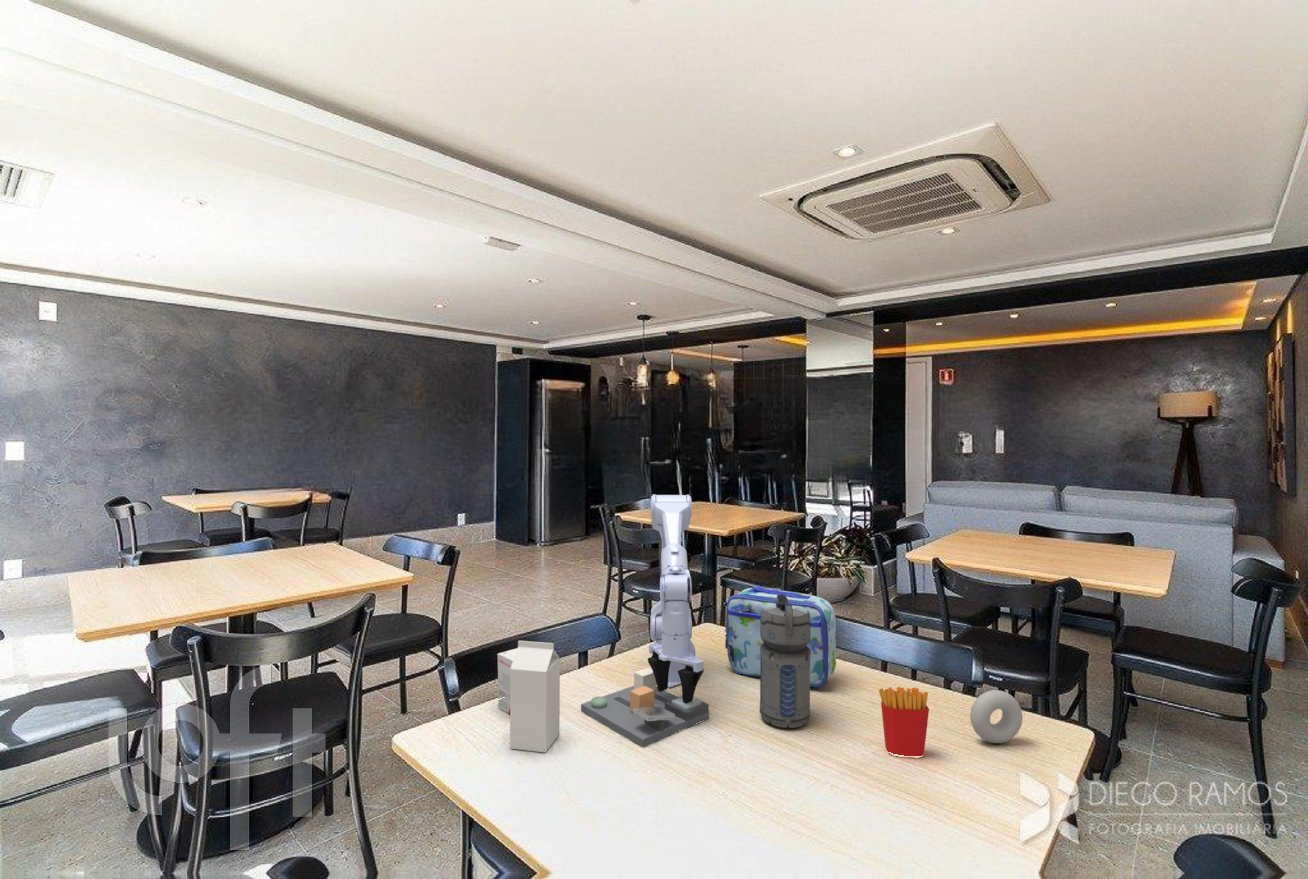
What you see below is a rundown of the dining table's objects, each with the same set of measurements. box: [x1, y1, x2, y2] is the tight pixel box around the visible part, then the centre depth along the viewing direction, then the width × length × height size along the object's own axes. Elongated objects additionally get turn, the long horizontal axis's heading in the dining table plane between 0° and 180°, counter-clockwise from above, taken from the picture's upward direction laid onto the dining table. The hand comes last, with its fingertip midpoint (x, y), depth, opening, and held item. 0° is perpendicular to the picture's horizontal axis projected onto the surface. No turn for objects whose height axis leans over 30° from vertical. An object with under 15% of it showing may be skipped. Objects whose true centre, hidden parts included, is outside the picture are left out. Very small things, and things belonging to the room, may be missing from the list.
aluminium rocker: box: [633, 706, 675, 721], centre depth 119 cm, size 7×4×1 cm, turn 132°
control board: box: [580, 685, 710, 748], centre depth 127 cm, size 18×20×3 cm
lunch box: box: [724, 585, 837, 688], centre depth 148 cm, size 26×11×21 cm, turn 58°
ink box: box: [497, 647, 518, 715], centre depth 129 cm, size 9×5×12 cm, turn 44°
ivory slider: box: [633, 667, 657, 690], centre depth 135 cm, size 4×3×4 cm
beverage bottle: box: [759, 594, 811, 729], centre depth 126 cm, size 10×13×25 cm
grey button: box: [672, 696, 702, 711], centre depth 126 cm, size 4×4×2 cm
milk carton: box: [509, 640, 561, 753], centre depth 116 cm, size 7×7×19 cm
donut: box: [969, 689, 1024, 744], centre depth 116 cm, size 10×4×10 cm, turn 96°
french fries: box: [878, 686, 930, 756], centre depth 112 cm, size 8×4×12 cm, turn 83°
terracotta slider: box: [630, 686, 654, 712], centre depth 125 cm, size 4×3×4 cm
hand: (674, 695), depth 128 cm, fingers open, 7 cm apart
